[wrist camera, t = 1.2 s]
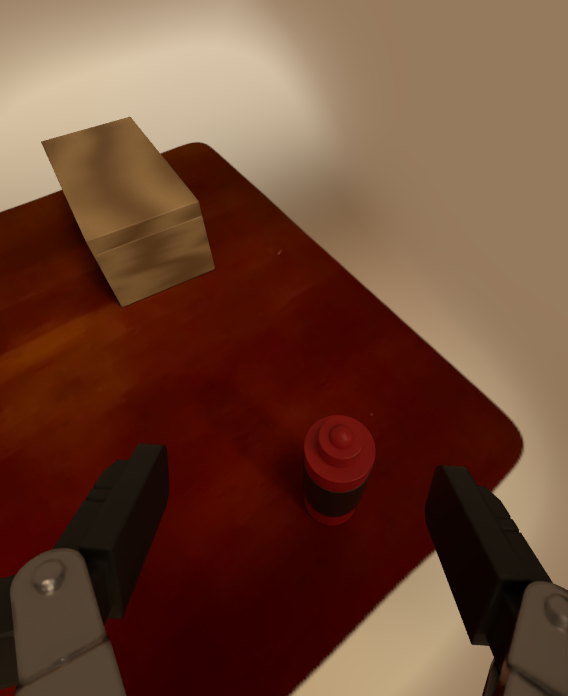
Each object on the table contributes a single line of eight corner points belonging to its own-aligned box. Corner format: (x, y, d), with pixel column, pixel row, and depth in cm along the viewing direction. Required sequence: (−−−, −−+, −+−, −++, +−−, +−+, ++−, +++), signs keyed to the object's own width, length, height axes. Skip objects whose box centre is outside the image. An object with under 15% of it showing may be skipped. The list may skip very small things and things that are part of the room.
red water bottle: (309, 465, 29) (311, 390, 20) (360, 478, 28) (386, 405, 19) (297, 518, 27) (294, 460, 18) (352, 533, 26) (377, 479, 17)
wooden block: (151, 181, 52) (130, 116, 45) (215, 269, 41) (198, 201, 35) (75, 206, 49) (40, 141, 43) (122, 307, 39) (85, 241, 32)
